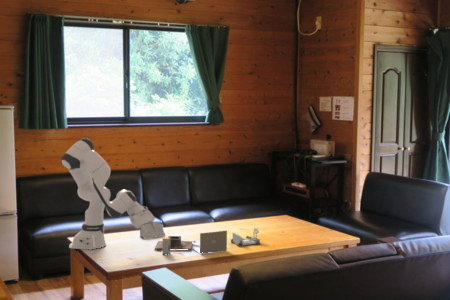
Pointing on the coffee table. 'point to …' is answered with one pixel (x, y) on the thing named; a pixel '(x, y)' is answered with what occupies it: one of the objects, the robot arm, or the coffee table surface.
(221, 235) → the laptop
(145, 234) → the grey rounded block
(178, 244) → the keeper
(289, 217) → the coffee table surface
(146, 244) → the coffee table surface
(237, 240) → the toy car
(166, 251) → the toggle bar
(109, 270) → the coffee table surface
